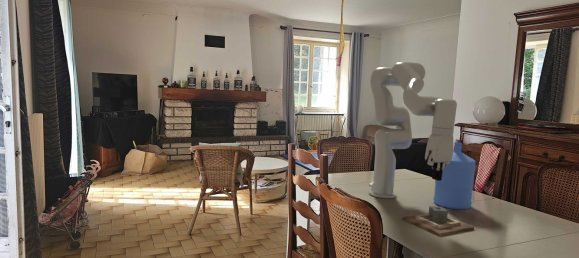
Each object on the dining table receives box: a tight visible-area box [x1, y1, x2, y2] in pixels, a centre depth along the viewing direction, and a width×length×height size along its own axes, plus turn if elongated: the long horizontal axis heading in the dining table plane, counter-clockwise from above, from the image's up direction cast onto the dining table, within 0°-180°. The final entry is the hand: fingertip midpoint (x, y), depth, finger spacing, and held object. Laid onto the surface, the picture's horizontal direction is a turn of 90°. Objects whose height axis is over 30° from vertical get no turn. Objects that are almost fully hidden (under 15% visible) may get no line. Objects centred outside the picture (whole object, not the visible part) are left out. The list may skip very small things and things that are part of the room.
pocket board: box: [402, 212, 475, 237], centre depth 145 cm, size 18×18×2 cm
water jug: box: [433, 141, 476, 211], centre depth 170 cm, size 16×16×28 cm
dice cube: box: [428, 205, 449, 224], centre depth 145 cm, size 5×5×5 cm
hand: (436, 179), depth 146 cm, fingers closed
